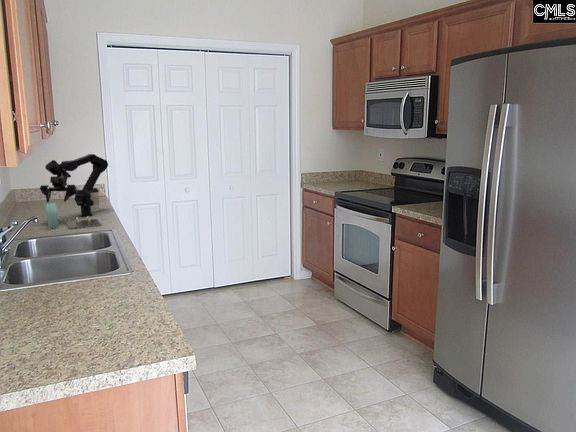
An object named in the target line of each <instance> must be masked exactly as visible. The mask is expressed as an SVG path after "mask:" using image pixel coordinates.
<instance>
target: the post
mask: <svg viewBox="0 0 576 432" xmlns="http://www.w3.org/2000/svg"><path fill="white" fill-rule="evenodd" d="M45 209H46V218H47V227H48V229H49V228H51V229H52V228H54V229H58V228H59V227H60V226H59V219H58V209H57V203H54V202H53V203H47V204H45ZM51 229H50V230H51Z"/></svg>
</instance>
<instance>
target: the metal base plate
mask: <svg viewBox="0 0 576 432" xmlns="http://www.w3.org/2000/svg"><path fill="white" fill-rule="evenodd" d="M66 225H67V228H68V227H69V228H68V229H69V230H70V229H71V230H76V229H75V228H79V229H85V228H84V227H88V228H94V226H96V227H101V226H102V223H101V221H99V220H98V219H97V218H93V219H92V218H91V217H90V216H86V219H84V220H80V219H79V217H78V216H76V217H75V220H72V221H66Z"/></svg>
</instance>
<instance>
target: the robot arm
mask: <svg viewBox="0 0 576 432" xmlns="http://www.w3.org/2000/svg"><path fill="white" fill-rule="evenodd" d="M87 163H88V164H89V163H90V165H92V171H91V172H90V175H89V177H88V178H87V180H86V182H85V184H84V185H83V188H82V189H78V188H77V186H76V185H75V184H68V183H67V181H68V179H69V178H71V177H72V176H71V174H70V173H69V172H74V171H75V170H77V169H78V168H79V167H80V166H82V165H85V164H87ZM108 167H109V163H108V161H107V159H104V158H102V157H100V156H98V155H96V154H94V153H88V154H86V155H84V156H81V157H78V158H76V159H73V160H65V161H61V162H60V163H58V162H57V161H56V159H53V160H51V161H49V162H47V163H46V165H45V170H46V171H48V172H49V173H50V174H52V175H53V176H50V180H49V181H50V183H51V186H52V187H51V186H49V185H48V184H47V185H46V184H45V185H41V186H39V190H40V191H41V193H42V195H44V196H45V199H46V203H49V202H50V199H51V196H52V192H65V195H64V197H63V202H64V203H66V202H67V201H68V200H69V199H70V198H71V197H73V196H74V202H75V203H76V206H77V207H80V214H79V216H81V217H87V216H89V217H91V216H93V212H91V206H93V205H94V202H93V201H92V200H91V199H90V198H91V191H92V189H93V188H95V185H96V183H97V182H98V179H99V177H100V176H101V174H103V173H104V172H105V171H106V170H107V169H108Z"/></svg>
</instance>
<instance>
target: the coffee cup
mask: <svg viewBox="0 0 576 432" xmlns="http://www.w3.org/2000/svg"><path fill="white" fill-rule="evenodd" d="M90 199H91V200H92V201H93V202H94V205H93V206H91V213H96V212H99V211H100V191H99V188H97V187H93V189H92V191H91V198H90Z"/></svg>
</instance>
